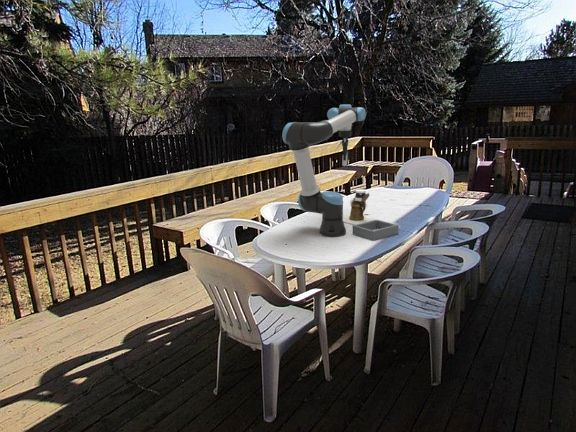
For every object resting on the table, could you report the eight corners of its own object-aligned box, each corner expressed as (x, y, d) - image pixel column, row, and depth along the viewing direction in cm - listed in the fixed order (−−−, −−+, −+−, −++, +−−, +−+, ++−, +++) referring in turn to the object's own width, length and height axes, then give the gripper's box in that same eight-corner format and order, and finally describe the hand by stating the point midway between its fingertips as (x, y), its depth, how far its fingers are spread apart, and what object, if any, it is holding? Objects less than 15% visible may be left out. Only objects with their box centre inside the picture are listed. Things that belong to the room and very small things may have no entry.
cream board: (355, 225, 259) (355, 224, 259) (335, 219, 273) (335, 218, 273) (375, 220, 269) (375, 219, 269) (355, 215, 283) (355, 214, 283)
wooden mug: (363, 222, 262) (364, 194, 258) (346, 219, 272) (346, 191, 267) (372, 220, 268) (373, 191, 263) (355, 216, 278) (355, 189, 273)
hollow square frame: (373, 240, 229) (373, 231, 228) (352, 234, 242) (352, 225, 240) (398, 233, 240) (398, 225, 239) (376, 227, 253) (377, 219, 252)
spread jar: (365, 207, 303) (366, 191, 300) (349, 207, 305) (349, 191, 302) (365, 204, 315) (366, 188, 312) (350, 203, 317) (350, 188, 314)
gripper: (350, 131, 253) (350, 166, 258) (351, 129, 277) (351, 161, 282) (338, 131, 254) (338, 166, 259) (340, 129, 278) (339, 161, 283)
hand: (344, 164), depth 271 cm, fingers open, 13 cm apart
